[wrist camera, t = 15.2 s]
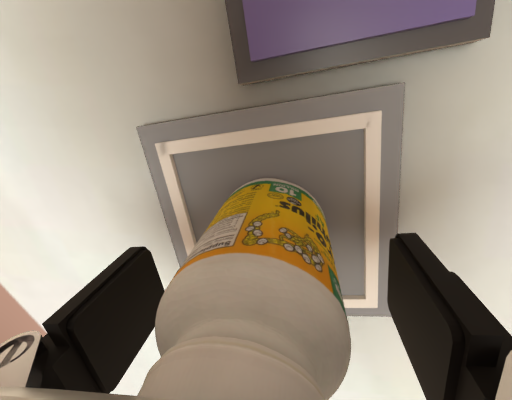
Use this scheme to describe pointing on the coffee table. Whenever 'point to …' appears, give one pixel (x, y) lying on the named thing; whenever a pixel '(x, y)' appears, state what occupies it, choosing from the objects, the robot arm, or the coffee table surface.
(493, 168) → the coffee table surface
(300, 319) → the supplement bottle
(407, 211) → the coffee table surface
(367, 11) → the ink pad
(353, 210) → the grey square tile
